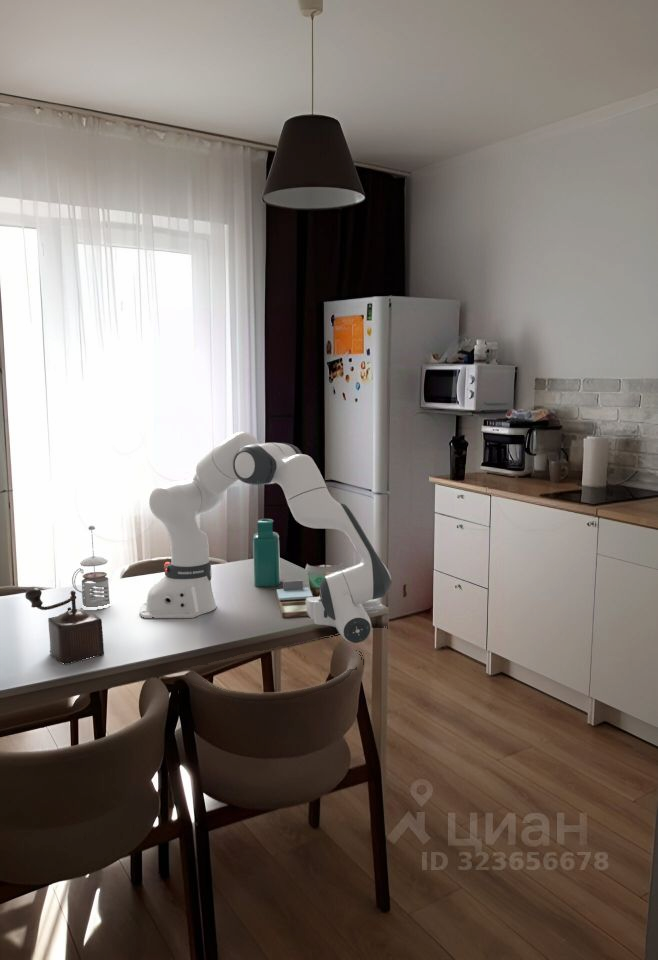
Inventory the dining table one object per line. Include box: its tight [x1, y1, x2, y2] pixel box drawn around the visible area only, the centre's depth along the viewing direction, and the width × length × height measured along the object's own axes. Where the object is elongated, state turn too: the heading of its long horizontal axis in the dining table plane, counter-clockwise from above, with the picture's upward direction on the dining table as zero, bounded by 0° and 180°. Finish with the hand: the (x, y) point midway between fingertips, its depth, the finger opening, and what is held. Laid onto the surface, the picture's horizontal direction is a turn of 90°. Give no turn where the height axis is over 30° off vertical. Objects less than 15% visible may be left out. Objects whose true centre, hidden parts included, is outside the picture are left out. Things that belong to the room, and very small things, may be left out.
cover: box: [276, 579, 313, 600], centre depth 227 cm, size 10×10×4 cm
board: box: [275, 591, 310, 619], centre depth 221 cm, size 10×21×1 cm, turn 9°
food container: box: [304, 562, 345, 597], centre depth 230 cm, size 12×6×10 cm, turn 92°
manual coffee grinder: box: [24, 587, 105, 665], centre depth 183 cm, size 16×11×18 cm
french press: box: [71, 525, 111, 607], centre depth 223 cm, size 10×12×25 cm
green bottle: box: [252, 518, 281, 588], centre depth 244 cm, size 10×8×22 cm
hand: (338, 596), depth 210 cm, fingers open, 8 cm apart
